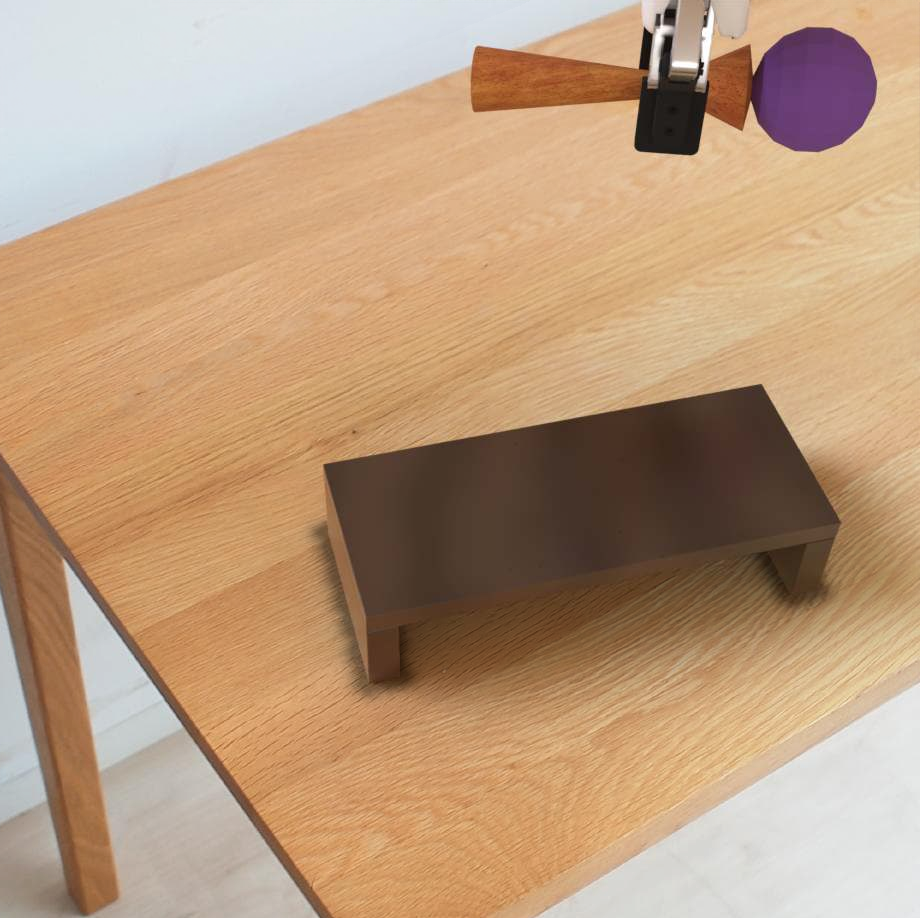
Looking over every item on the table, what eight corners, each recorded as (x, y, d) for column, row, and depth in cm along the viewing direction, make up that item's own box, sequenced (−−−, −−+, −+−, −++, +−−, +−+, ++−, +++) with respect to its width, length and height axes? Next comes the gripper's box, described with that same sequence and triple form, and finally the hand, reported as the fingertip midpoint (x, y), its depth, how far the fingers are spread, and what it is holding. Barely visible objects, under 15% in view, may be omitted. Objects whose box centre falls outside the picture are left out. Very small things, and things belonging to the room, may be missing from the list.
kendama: (484, 2, 75) (881, 11, 72) (486, 111, 79) (864, 125, 75) (464, 43, 71) (887, 55, 67) (467, 157, 74) (869, 174, 71)
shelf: (742, 458, 82) (761, 383, 77) (816, 595, 76) (841, 521, 71) (328, 538, 78) (322, 463, 74) (369, 689, 72) (365, 617, 67)
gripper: (822, -156, 55) (742, 226, 69) (802, -326, 66) (737, 32, 80) (623, -167, 55) (584, 214, 69) (637, -334, 67) (601, 23, 80)
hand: (666, 113), depth 74 cm, fingers closed on kendama, 5 cm apart
